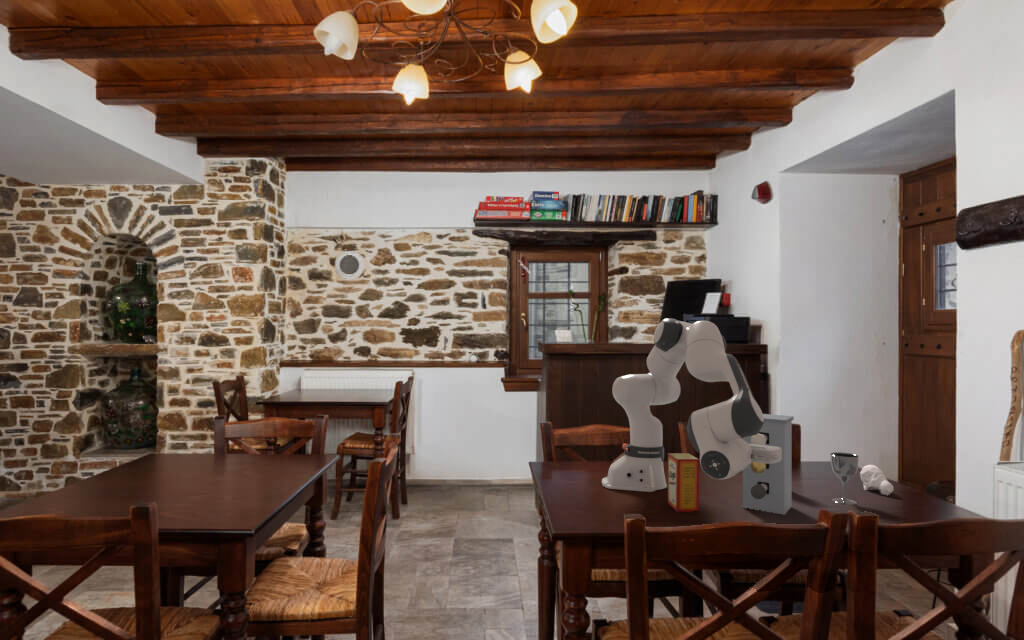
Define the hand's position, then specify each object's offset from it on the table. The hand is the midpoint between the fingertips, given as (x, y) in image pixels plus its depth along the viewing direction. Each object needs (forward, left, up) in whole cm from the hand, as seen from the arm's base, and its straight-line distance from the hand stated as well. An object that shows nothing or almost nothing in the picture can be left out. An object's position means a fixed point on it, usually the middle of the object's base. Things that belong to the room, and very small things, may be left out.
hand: (748, 446), depth 174 cm
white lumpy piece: (+55, +43, -22) cm, 73 cm away
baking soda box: (-15, +16, -22) cm, 31 cm away
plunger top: (+8, +13, -2) cm, 15 cm away
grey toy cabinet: (+11, +19, -22) cm, 31 cm away
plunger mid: (+8, +13, -9) cm, 18 cm away
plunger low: (+8, +13, -17) cm, 23 cm away
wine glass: (+38, +29, -22) cm, 52 cm away
